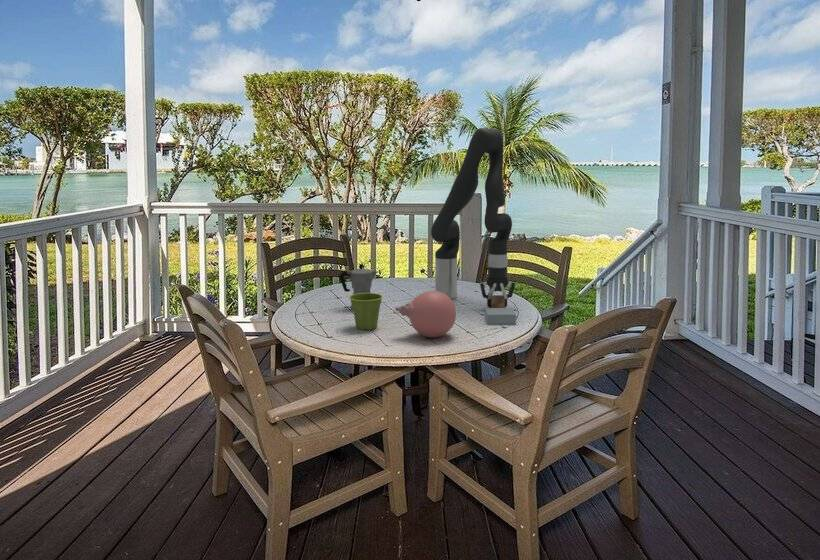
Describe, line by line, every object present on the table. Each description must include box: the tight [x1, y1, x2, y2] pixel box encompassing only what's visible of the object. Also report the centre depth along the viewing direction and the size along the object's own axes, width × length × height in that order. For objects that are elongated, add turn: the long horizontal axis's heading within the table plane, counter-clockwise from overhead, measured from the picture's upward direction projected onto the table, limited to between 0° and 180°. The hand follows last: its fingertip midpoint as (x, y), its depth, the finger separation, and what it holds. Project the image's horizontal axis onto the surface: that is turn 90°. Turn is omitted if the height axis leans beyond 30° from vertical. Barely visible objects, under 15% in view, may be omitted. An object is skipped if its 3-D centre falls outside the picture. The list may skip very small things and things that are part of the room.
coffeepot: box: [338, 263, 379, 311], centre depth 232 cm, size 15×9×18 cm, turn 107°
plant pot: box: [348, 292, 384, 331], centre depth 206 cm, size 12×12×11 cm
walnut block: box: [491, 294, 506, 308], centre depth 231 cm, size 5×5×5 cm
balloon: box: [394, 290, 457, 338], centre depth 194 cm, size 15×20×15 cm
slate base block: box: [484, 307, 517, 326], centre depth 214 cm, size 10×10×4 cm
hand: (496, 307), depth 232 cm, fingers closed on walnut block, 5 cm apart
